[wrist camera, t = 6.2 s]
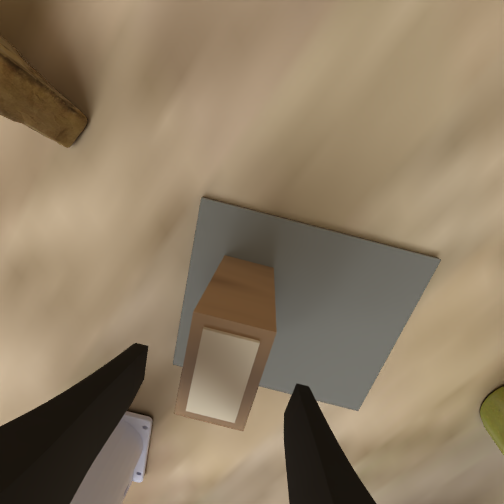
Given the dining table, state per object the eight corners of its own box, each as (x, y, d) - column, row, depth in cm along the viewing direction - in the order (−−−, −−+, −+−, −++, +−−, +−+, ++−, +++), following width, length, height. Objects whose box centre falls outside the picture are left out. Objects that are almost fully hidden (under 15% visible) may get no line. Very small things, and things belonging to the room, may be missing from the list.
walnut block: (252, 337, 18) (242, 434, 11) (208, 326, 18) (172, 416, 11) (273, 267, 16) (276, 334, 9) (224, 255, 16) (192, 313, 9)
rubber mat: (356, 406, 20) (358, 411, 20) (174, 360, 20) (172, 364, 20) (437, 257, 16) (441, 259, 15) (202, 197, 15) (201, 197, 15)
